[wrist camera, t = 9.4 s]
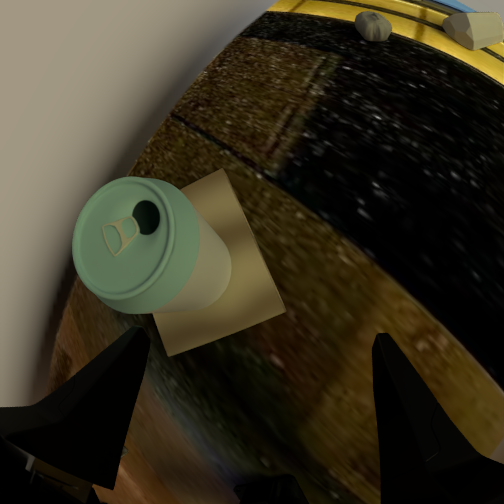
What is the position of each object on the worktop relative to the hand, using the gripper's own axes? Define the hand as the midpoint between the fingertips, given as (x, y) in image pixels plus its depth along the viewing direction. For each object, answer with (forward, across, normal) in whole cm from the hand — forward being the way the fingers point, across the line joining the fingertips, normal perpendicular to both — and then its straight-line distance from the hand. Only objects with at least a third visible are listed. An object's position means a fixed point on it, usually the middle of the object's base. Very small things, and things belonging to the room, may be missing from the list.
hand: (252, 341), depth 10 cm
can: (+11, +8, +5) cm, 15 cm away
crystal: (+44, -41, -24) cm, 65 cm away
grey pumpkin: (+36, -14, -16) cm, 42 cm away
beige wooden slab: (+14, +8, +7) cm, 17 cm away
